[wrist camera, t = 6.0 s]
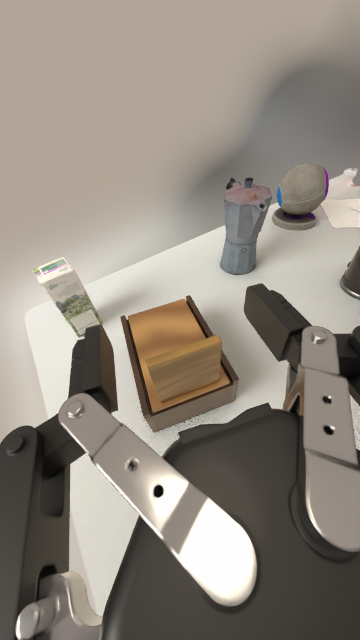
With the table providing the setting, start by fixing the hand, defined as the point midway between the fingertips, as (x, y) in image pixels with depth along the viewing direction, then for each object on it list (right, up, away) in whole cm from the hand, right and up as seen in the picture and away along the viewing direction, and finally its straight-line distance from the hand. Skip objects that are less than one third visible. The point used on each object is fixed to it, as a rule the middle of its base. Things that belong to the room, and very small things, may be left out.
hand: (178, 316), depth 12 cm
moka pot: (+15, +14, +46) cm, 50 cm away
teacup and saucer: (+56, +33, +58) cm, 87 cm away
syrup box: (-20, -1, +37) cm, 42 cm away
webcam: (+36, +31, +58) cm, 75 cm away
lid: (-1, -4, +23) cm, 23 cm away
